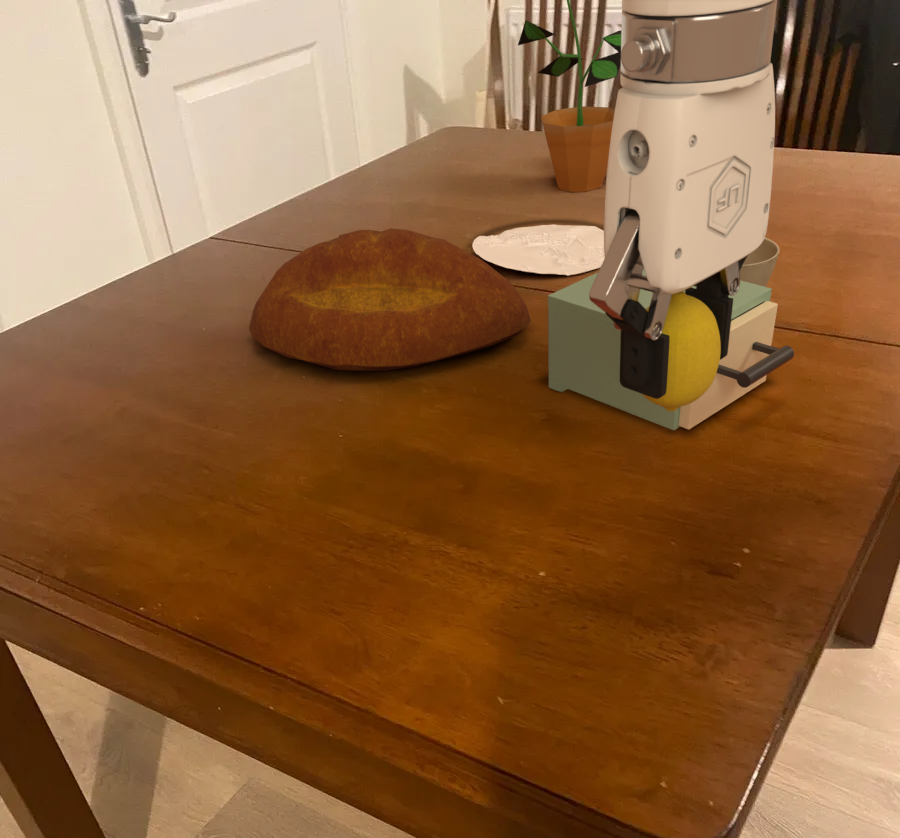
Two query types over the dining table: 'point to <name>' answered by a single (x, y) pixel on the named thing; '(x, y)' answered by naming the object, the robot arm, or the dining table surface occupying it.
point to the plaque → (545, 249)
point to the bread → (385, 303)
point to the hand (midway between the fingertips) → (674, 369)
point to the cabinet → (609, 348)
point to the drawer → (740, 363)
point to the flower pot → (760, 263)
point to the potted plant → (578, 116)
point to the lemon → (689, 351)
